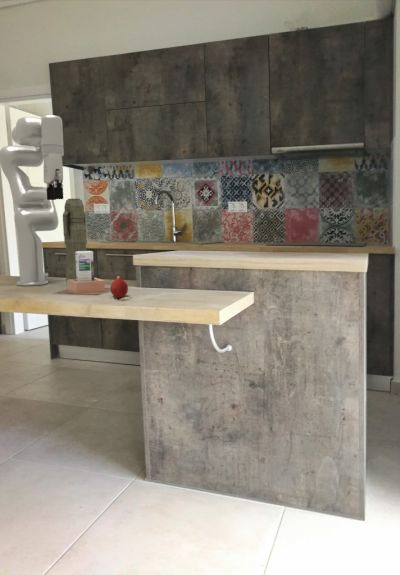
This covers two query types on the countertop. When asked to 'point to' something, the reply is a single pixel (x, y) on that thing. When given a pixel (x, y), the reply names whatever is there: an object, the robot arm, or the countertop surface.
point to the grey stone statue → (74, 233)
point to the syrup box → (84, 266)
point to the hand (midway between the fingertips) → (55, 199)
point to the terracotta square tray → (86, 286)
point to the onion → (119, 288)
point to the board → (83, 293)
